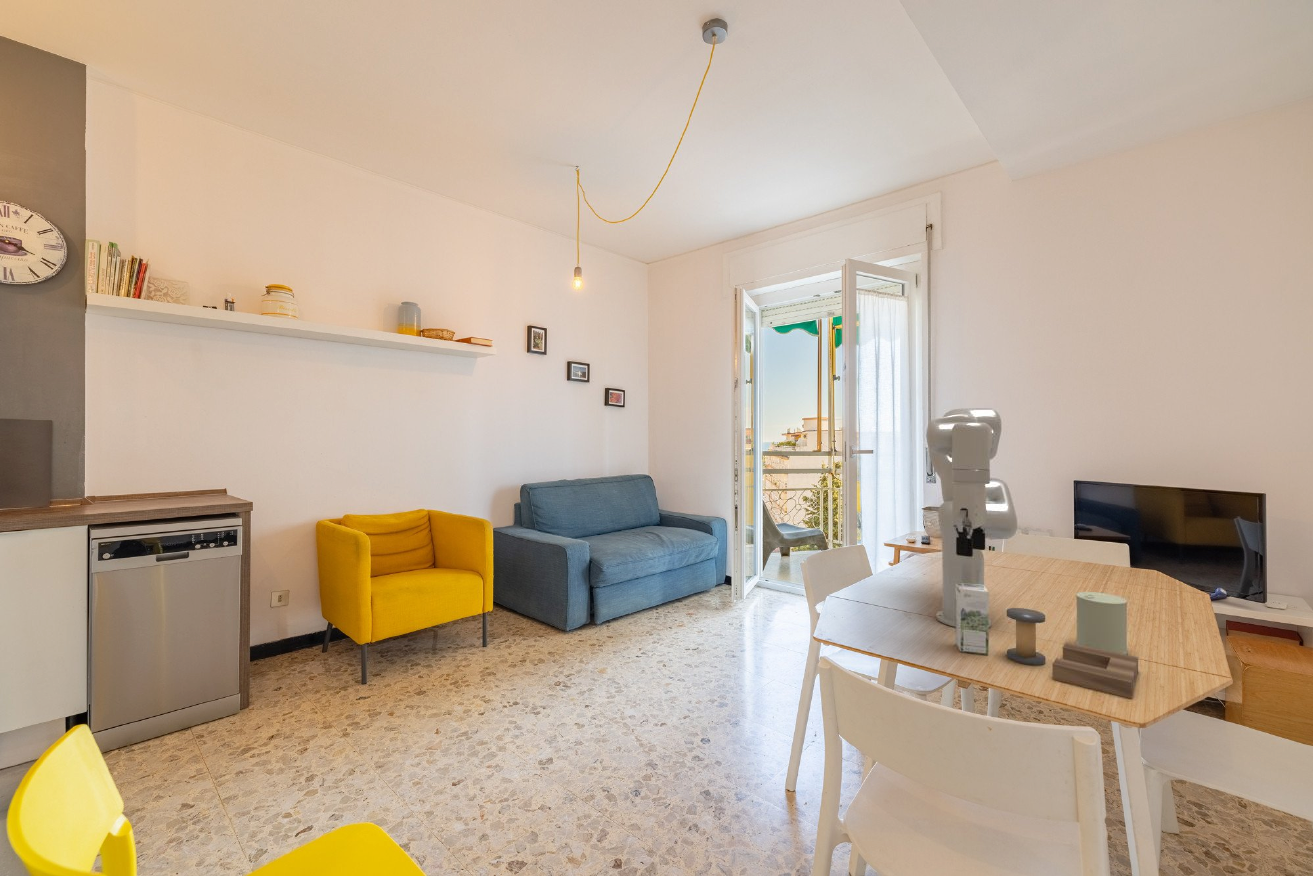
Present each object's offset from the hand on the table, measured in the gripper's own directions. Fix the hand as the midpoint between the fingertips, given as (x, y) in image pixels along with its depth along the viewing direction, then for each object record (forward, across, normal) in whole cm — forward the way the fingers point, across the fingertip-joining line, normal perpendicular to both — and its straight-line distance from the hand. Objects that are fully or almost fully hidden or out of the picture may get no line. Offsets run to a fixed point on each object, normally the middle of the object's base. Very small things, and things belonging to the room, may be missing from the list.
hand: (971, 552), depth 126 cm
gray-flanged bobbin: (+22, -2, +10) cm, 24 cm away
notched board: (+22, -2, +22) cm, 31 cm away
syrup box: (+22, 0, 0) cm, 22 cm away
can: (+22, -21, +21) cm, 37 cm away
